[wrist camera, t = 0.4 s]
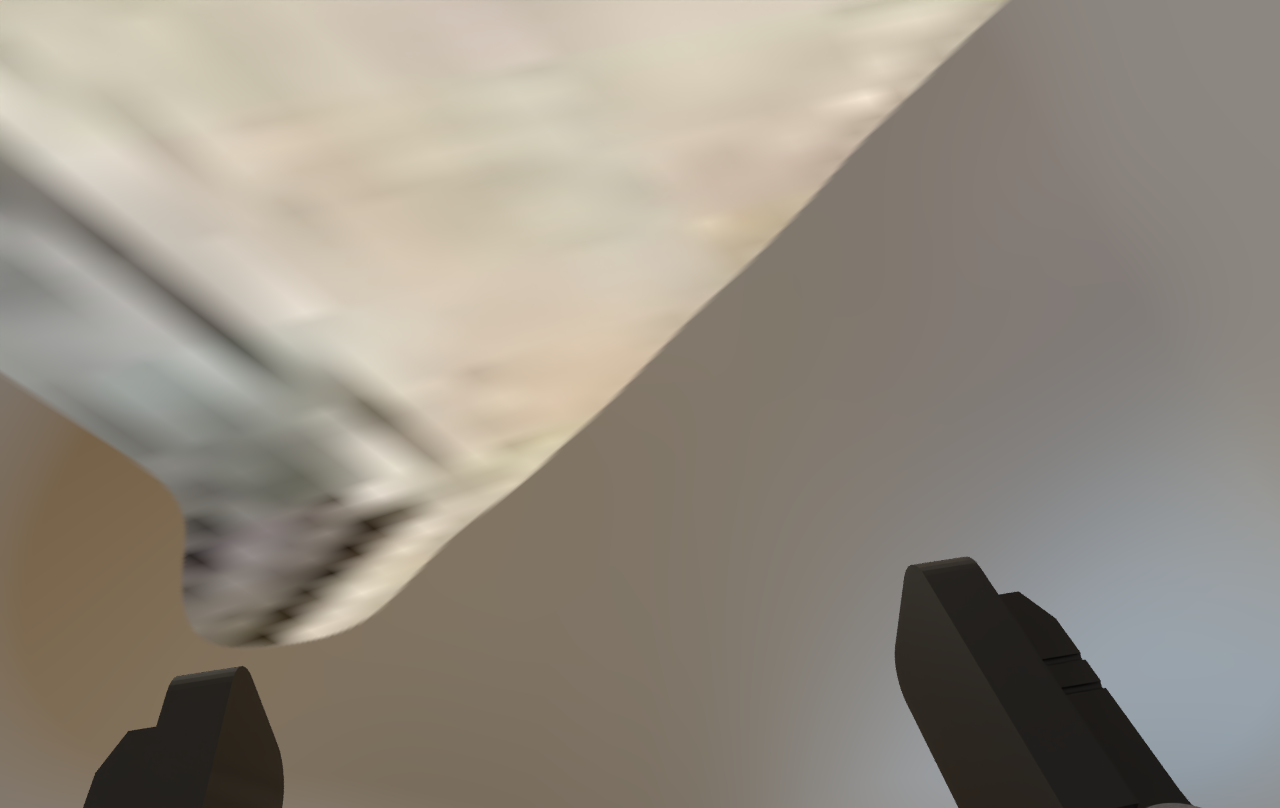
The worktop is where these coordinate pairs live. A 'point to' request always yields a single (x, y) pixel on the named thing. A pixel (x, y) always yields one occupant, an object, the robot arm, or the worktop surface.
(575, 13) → the worktop surface
